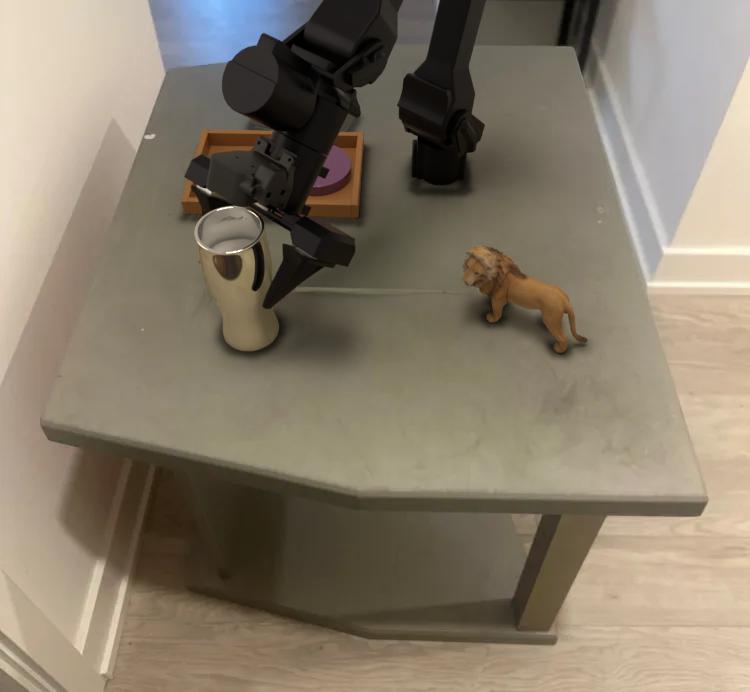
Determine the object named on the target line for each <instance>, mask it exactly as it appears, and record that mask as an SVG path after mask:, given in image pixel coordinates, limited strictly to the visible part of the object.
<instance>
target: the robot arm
mask: <svg viewBox="0 0 750 692" xmlns="http://www.w3.org/2000/svg"><path fill="white" fill-rule="evenodd" d="M403 2H404V0H322V1H321V2H320V4H319V5H318V6H317V8H316V9H315V11H314V12H313V13H312V15H311V16H310V18H309V19H308V21H306V22H305V23H303V24H302V25H301V26H300V27H299V28H297V29H296V30H294V31H293V32H292V33H291V34H290V35H288V36H287V37H286V38H284V39H282V40H280V39H278V38H276V37H274V36H272V35H270V34H267V33H266V32H262V33H261V35H260V36H259V38H258V41H257V43H256V44H255V45H254V44H253V45H249V46H247V47H245V48H243V49H240V51H238V52H237V53H236V54H235V55H234V57H232V59H231V60H229V61H227V63H226V66H225V68H224V71H223V74H222V80H221V92H222V95H223V100H224V101H225V103H226V104H227V106H228V107H229V108H230V109H231V110H232V111H233V112H235V113H238V114H240V115H242V116H244V117H246V118H248V119H250V120H251V119H252V120H254V121H256V122H259V123H261V124H263V125H265V126H267V127H269V128H271V129H270V130H272V131H273V132H272V134H271V136H270V138H267V137H264V136H262V135H261V137H260V139H257V141H256V143H255V145H254V147H253V148H252V150H251V151H243V150H236V151H227V152H218V153H213V154H212V155H211V157H208V156H206V155H203V154H201V155H199V156H197V157H196V158H192V159H191V160H190V161H189V164H188V167H187V169H186V171H185V173H184V177H183V178H185V179H187V180H190V181H192V182H193V183H195V184H196V186H193V185H191V191H192V192H194V193H195V194H196V196H197V198H198V201H199V203H200V205H201V209H202V214H201V218H202V217H203V216H204V215H205V214H207V213H208V212H210V211H212V210H214V209H217V208H220V207H225V206H238V207H248V206H249V207H251V208H252V209H254V210H256V211H257V212H259V213H260V214H262V215H264V216H263V217H266V218H267V219H268V220H270V221H272V222H274V223H275V224H276V225H278V226H280V227H281V228H283V229H285V230H286V231H288V232H290V233H289V234H290V239H291V244H292V245H291V244H288V243H282V245H281V247H282V261H281V263H280V265H279V267H278V269H277V271H276V273H275V275H274V276H273V281H272V283H271V285H270V287H269V289H268V291H267V293H266V296H265V299H264V301H263V304H262V307H263V308H265V309H271V308H272V309H273V308H274V307H275V306H276V305H278V303H279V302H281V301H282V300H283V299H285V297H287V296H288V295H289V294H291V292H293V291H294V290H295V289H296V288H298V287H299V286H300V285H301V284H303V283H304V282H305V281H307V280H308V279H309V278H311V277H313V276H314V275H315V274H317V273H318V272H320V271H321V270H323V269H324V268H328V269H335V267H336V266H342V267H346V268H347V267H348V268H349V266H350V264H351V262H352V260H353V258H354V256H355V254H356V239H355V238H354V237H352V236H351V235H350V234H348V233H346V232H345V231H343V230H341V229H340V228H338V227H336V226H334V225H332V223H330V222H326V221H323V220H320V219H318V218H317V219H316V218H315V217H308V214H309V212H310V210H311V208H312V207H310V206H309V205H307V204H305V203H306V201H307V199H308V197H309V194H310V192H311V190H312V188H313V186H314V184H315V182H316V180H317V178H318V176H320V177H322V178H324V179H326V177H327V174H328V172H329V170H330V169H328V168H326V167H324V166H323V165H324V163H325V161H326V159H327V156H328V155H329V153H330V151H331V149H332V146H333V144H334V142H335V140H336V138H337V136H338V134H339V132H340V130H341V128H342V126H343V124H344V121H345V119H346V117H347V115H348V114H349V115H351V116H353V117H355V118H356V119H358V118H360V117H361V115H362V112H361V111H362V110H361V105H360V103H359V101H358V97H357V93H358V92H357V89H355V88H363V87H365V86H367V85H373V84H374V83H375V82H376V81H377V80H378V79H379V77H381V76H382V74H383V72H385V69H386V67H387V64H388V61H389V58H390V57H391V54H392V51H393V50H394V48H395V45H396V42H397V40H398V36H399V33H398V32H399V31H398V30H399V29H398V27H399V23H398V17H399V15H398V13H399V11H400V9H401V6H402V4H403ZM486 2H487V0H439V2H438V6H437V10H436V13H435V18H434V23H433V27H432V31H431V36H430V40H429V44H428V50H427V54H426V57H425V59H424V60H423V61H422V62H421V63H420V65H419V66H418V67H417V68H416V69H415V70H414V71H413V72H408V73H406V74H405V76H404V77H403V79H402V87H401V94H400V96H399V99H398V102H397V104H396V106H397V108H398V119H399V120H400V121H401V124H402V125H403V129H404V131H405V132H406V133H408V134H412V135H413V136H415V137H416V138H414V139H412V142H411V143H412V145H411V165H410V167H411V168H410V169H411V171H410V173H411V175H410V176H411V177H412V179H413V178H415V179H416V180H422V181H423V182H425V183H427V184H430V185H432V186H443V187H444V186H449V185H452V184H454V183H456V182H458V181H464V180H465V175H466V166H467V158H468V154H472V153H474V152H476V150H477V145H478V143H479V142H481V139H482V137H483V134H484V130H485V128H486V124H485V123H484V122H483V121H481V120H480V119H479V118H477V116H475V114H473V108H474V104H475V98H476V91H475V86H474V82H473V79H472V74H471V72H470V62H471V59H472V55H473V52H474V47H475V43H476V40H477V36H478V33H479V28H480V24H481V21H482V17H483V13H484V9H485V6H486ZM279 131H280V132H279ZM323 154H324V155H323ZM325 155H326V156H325ZM275 212H276V213H278V214H279V215H282V216H279V215H277V214H276V213H275ZM300 214H302V215H305V216H303V217H302V216H300ZM198 264H199V265H200V262H199V261H198Z"/></svg>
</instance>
